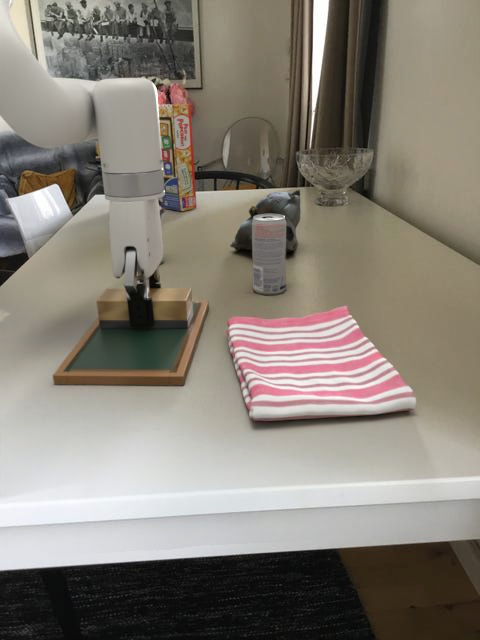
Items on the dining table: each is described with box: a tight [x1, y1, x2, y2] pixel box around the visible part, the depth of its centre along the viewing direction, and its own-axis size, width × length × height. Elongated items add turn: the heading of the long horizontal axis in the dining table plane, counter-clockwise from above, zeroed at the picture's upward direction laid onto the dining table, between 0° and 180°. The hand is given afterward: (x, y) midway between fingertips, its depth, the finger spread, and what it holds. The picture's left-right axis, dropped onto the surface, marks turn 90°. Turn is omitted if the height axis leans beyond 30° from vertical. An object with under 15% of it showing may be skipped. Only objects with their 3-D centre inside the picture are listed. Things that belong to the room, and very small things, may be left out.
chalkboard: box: [52, 300, 210, 387], centre depth 75 cm, size 15×24×1 cm, turn 176°
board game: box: [158, 103, 197, 212], centre depth 155 cm, size 20×6×27 cm, turn 46°
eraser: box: [96, 287, 193, 329], centre depth 77 cm, size 12×5×4 cm, turn 87°
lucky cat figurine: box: [229, 189, 302, 255], centre depth 113 cm, size 15×12×14 cm
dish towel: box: [226, 305, 417, 422], centre depth 66 cm, size 17×23×4 cm
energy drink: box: [251, 214, 287, 296], centre depth 90 cm, size 5×5×12 cm
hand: (147, 317), depth 78 cm, fingers closed on eraser, 5 cm apart
